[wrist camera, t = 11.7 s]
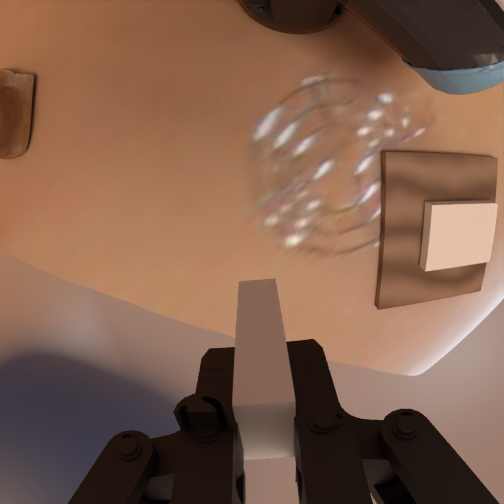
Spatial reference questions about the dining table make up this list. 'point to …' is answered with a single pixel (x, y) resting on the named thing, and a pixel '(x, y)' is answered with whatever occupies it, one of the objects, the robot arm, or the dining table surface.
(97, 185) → the dining table surface
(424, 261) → the tile
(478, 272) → the board
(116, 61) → the dining table surface
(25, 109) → the tan ankle boot
